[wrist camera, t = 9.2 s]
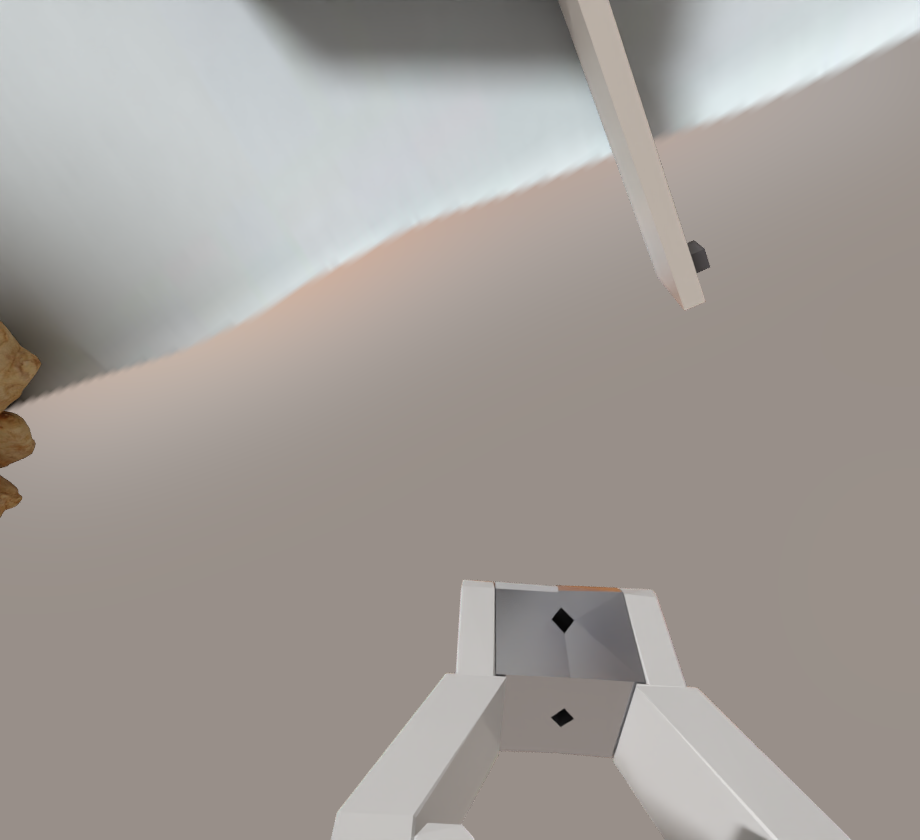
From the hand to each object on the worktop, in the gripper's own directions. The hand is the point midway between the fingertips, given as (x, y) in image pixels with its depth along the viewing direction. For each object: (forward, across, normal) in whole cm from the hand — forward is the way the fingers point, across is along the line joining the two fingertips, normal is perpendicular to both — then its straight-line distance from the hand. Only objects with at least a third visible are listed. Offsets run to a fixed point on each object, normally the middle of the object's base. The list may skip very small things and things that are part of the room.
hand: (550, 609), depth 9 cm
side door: (+19, -4, -6) cm, 20 cm away
